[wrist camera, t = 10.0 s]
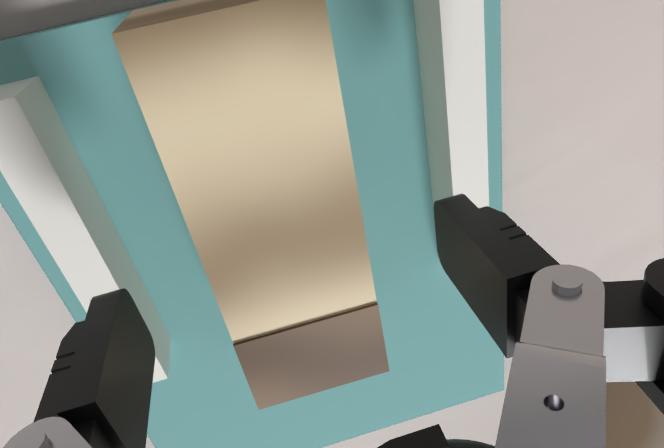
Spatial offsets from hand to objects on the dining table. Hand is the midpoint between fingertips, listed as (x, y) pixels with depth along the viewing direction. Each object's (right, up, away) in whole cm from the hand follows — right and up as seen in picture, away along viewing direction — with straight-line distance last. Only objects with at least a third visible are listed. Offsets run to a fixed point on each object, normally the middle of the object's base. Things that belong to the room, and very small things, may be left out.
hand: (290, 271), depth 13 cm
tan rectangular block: (-1, +2, +4) cm, 5 cm away
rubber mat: (0, -1, +6) cm, 6 cm away
